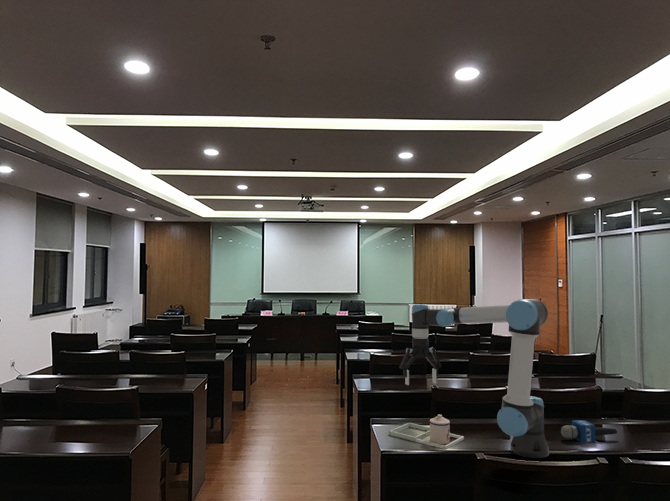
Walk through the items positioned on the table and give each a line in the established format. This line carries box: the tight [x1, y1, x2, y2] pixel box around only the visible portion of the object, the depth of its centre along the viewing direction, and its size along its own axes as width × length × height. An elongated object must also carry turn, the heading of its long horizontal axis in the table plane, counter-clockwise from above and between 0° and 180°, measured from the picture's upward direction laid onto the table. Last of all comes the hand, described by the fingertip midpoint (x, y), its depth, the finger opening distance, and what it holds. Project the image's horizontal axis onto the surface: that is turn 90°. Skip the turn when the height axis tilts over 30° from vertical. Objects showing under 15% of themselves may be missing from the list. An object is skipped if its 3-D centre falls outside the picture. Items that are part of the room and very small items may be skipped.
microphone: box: [560, 419, 618, 444], centre depth 220 cm, size 8×8×25 cm
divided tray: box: [388, 422, 465, 450], centre depth 223 cm, size 29×17×2 cm, turn 49°
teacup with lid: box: [429, 414, 451, 445], centre depth 219 cm, size 12×9×12 cm
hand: (420, 383), depth 225 cm, fingers open, 13 cm apart
